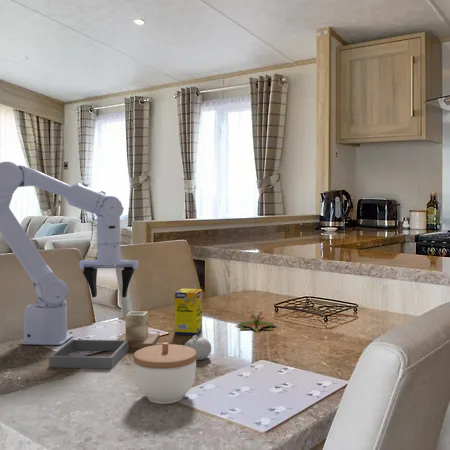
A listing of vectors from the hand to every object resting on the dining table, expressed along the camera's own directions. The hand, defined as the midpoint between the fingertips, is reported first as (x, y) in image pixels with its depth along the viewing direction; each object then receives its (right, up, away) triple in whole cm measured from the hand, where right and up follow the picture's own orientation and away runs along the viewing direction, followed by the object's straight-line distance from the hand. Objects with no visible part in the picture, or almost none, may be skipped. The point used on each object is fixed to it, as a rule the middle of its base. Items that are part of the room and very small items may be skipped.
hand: (109, 296), depth 132 cm
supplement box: (+20, -10, +1) cm, 22 cm away
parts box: (+8, -9, -8) cm, 15 cm away
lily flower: (+38, -10, +7) cm, 40 cm away
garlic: (+24, -11, -21) cm, 33 cm away
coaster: (+8, -10, -8) cm, 15 cm away
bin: (+1, -10, -21) cm, 23 cm away
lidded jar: (+19, -12, -43) cm, 48 cm away
